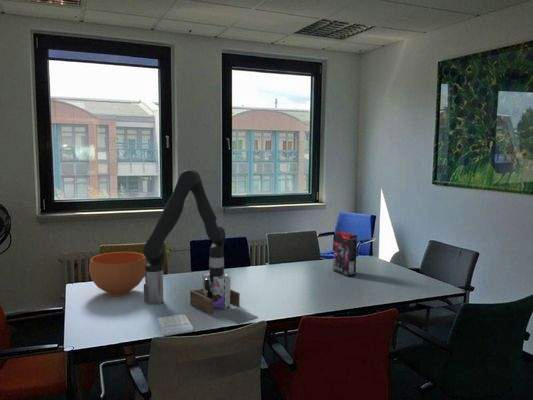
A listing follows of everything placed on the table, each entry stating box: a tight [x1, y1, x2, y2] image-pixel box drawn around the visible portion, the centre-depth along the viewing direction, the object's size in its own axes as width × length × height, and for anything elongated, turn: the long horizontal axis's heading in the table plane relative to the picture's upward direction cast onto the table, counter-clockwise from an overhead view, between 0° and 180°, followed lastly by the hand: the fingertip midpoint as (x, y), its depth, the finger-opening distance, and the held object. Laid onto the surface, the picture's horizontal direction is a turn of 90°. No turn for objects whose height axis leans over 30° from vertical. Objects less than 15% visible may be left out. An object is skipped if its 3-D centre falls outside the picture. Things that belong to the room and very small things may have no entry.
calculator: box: [157, 314, 194, 336], centre depth 206 cm, size 13×20×2 cm, turn 22°
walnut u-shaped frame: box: [189, 287, 241, 315], centre depth 234 cm, size 18×19×7 cm
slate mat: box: [217, 307, 258, 324], centre depth 220 cm, size 12×17×1 cm
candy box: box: [202, 272, 231, 310], centre depth 232 cm, size 14×6×16 cm, turn 62°
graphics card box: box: [332, 231, 358, 277], centre depth 298 cm, size 17×7×27 cm, turn 28°
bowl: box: [88, 251, 147, 298], centre depth 250 cm, size 30×30×20 cm
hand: (216, 296), depth 233 cm, fingers closed on candy box, 7 cm apart
